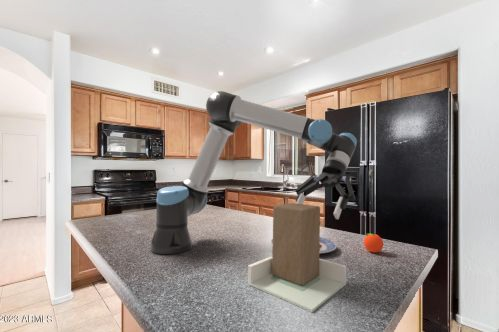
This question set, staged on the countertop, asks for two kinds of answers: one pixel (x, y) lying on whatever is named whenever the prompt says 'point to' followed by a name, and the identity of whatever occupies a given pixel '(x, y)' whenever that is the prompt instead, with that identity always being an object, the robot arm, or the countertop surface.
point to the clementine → (373, 243)
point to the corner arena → (302, 296)
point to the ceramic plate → (324, 245)
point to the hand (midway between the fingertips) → (314, 213)
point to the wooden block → (296, 242)
